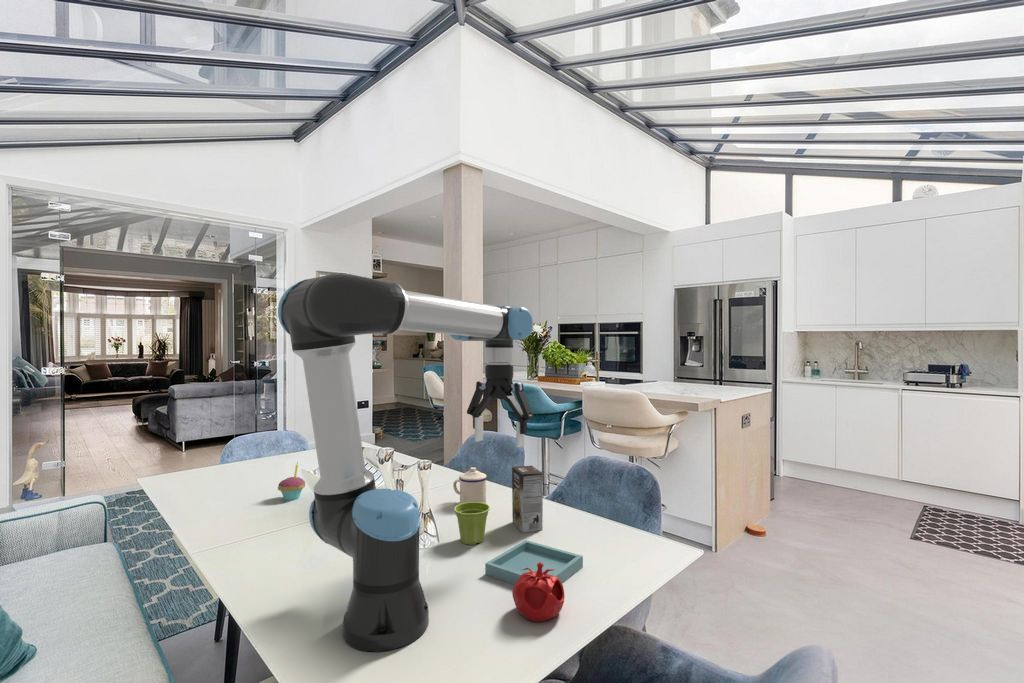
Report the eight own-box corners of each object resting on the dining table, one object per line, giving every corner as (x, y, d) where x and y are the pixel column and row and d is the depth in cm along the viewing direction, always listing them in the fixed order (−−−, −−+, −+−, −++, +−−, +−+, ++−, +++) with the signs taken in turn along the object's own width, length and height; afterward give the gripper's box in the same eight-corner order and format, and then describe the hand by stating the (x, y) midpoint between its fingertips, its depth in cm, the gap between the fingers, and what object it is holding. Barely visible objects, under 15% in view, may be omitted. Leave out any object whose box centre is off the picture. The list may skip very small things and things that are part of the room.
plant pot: (484, 549, 121) (484, 514, 121) (449, 546, 123) (449, 512, 123) (493, 535, 130) (493, 503, 130) (460, 532, 132) (460, 501, 132)
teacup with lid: (491, 501, 159) (491, 466, 159) (478, 509, 150) (478, 472, 151) (460, 496, 164) (460, 462, 164) (446, 504, 156) (446, 468, 156)
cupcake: (296, 493, 169) (297, 459, 169) (310, 497, 164) (310, 462, 164) (272, 499, 162) (273, 463, 162) (286, 504, 157) (286, 467, 157)
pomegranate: (505, 606, 94) (504, 558, 94) (551, 595, 98) (549, 549, 98) (525, 632, 85) (524, 579, 85) (574, 619, 89) (573, 568, 89)
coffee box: (511, 521, 140) (511, 466, 140) (532, 519, 142) (531, 464, 142) (521, 533, 131) (521, 474, 131) (543, 530, 133) (543, 472, 133)
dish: (546, 595, 97) (546, 583, 98) (485, 574, 107) (485, 563, 107) (582, 566, 110) (582, 555, 110) (525, 550, 120) (525, 540, 120)
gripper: (546, 364, 124) (546, 446, 123) (471, 363, 138) (471, 437, 137) (531, 364, 118) (531, 451, 117) (454, 363, 132) (454, 440, 131)
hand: (498, 443), depth 127 cm, fingers open, 13 cm apart
